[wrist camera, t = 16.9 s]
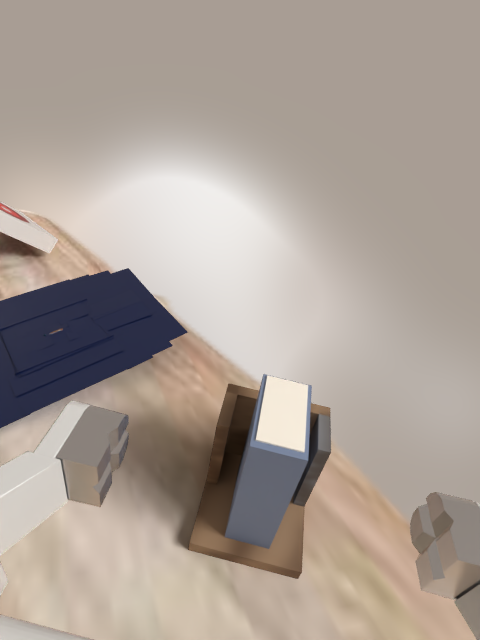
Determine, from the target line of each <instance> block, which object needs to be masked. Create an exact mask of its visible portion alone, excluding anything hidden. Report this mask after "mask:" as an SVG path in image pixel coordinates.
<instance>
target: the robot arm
mask: <svg viewBox="0 0 480 640" xmlns="http://www.w3.org/2000/svg"><path fill="white" fill-rule="evenodd" d="M128 423H129V422H128V415H126V414H122V413H118V412H115V411H111V410H107V409H103V408H100V407H96V406H92V405H89V404H85V403H81V402H77V401H73V400H72V401H71V402H69V403H68V404H67V405H66V406H65V408H64V409H63V410H62V412H61V413H60V415H59V416H58V418H57V419H56V421H55V422H54V423H53V425H52V426H51V428H50V429H49V431H48V432H47V433H46V435H45V436H44V438H43V439H42V441H41V442H40V443H39V445H38V446H37V448H36V449H35V451H34V452H30V451H27V452H25V453H23V454H22V455H20V456H18V457H16V458H14V459H13V460H11V461H9V462H7V463H5V464H4V465H2V466H0V556H1V555H2V554H3V553H4V552H6V551H7V550H8V549H9V548H11V547H12V546H13V545H14V544H16V543H17V542H18V541H19V540H21V539H22V538H23V537H24V536H26V535H27V534H28V533H29V532H31V531H32V530H33V529H34V528H36V527H37V526H38V525H39V524H41V523H42V522H43V521H45V520H46V519H47V518H48V517H50V516H51V515H52V514H53V513H55V512H56V511H57V510H58V509H60V508H61V507H62V506H63V505H65V504H66V503H67V502H68V500H72V501H76V502H80V503H85V504H89V505H94V506H98V507H101V505H102V503H103V500H104V498H105V496H106V494H107V492H108V490H109V488H110V486H111V484H112V475H111V473H112V472H113V471H115V470H116V469H118V468H119V467H120V464H121V462H122V460H123V458H124V455H125V452H126V448H127V444H128V434H129V433H128V432H127V431H126V430H125V429H126V427H127V425H128ZM426 501H427V504H426V505H423V506H420V507H418V508H417V509H416V510H415V512H414V513H413V515H412V519H411V523H410V533H411V539H412V543H413V545H414V546H415V548H416V549H417V550H418V552H419V553H420V554H419V556H418V558H417V560H416V566H417V572H418V577H419V582H420V587H421V590H422V591H425V592H428V593H432V594H435V595H439V596H442V597H446V598H449V599H453V600H456V601H455V604H456V606H457V607H458V609H459V611H460V612H461V614H462V616H463V617H464V619H465V621H466V622H467V624H468V626H469V627H470V629H471V631H472V632H473V634H474V635H475V637H476V639H477V640H480V503H477V502H473V501H472V500H467V499H463V498H459V497H454V496H450V495H445V494H442V493H437V492H434V493H430V494H429V496H428V497H427V498H426ZM7 583H8V578H7V574H6V572H5V570H4V568H3V566H2V564H1V562H0V595H1V594H2V592H3V590H4V588H5V586H6V585H7ZM0 640H94V639H90V638H86V637H82V636H79V635H75V634H71V633H68V632H64V631H60V630H56V629H53V628H49V627H45V626H42V625H38V624H34V623H30V622H27V621H23V620H19V619H16V618H12V617H8V616H5V615H1V614H0Z"/></svg>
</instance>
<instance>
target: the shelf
mask: <svg viewBox="0 0 480 640" xmlns="http://www.w3.org/2000/svg"><path fill="white" fill-rule="evenodd" d="M258 394H259V391H258V390H253V389H249V388H245V387H241V386H237V385H233V384H228V387H227V391H226V394H225V398H224V401H223V405H222V409H221V412H220V416H219V419H218V423H217V427H216V433H215V438H214V444H213V449H212V454H211V460H210V465H209V471H208V476H207V480H206V484H205V487H204V491H203V495H202V498H201V502H200V506H199V510H198V513H197V517H196V521H195V524H194V528H193V532H192V535H191V539H190V543H189V549H188V550H191V551H195V552H198V553H202V554H206V555H210V556H214V557H217V558H221V559H225V560H229V561H233V562H236V563H240V564H244V565H248V566H251V567H255V568H259V569H263V570H267V571H270V572H274V573H278V574H282V575H285V576H289V577H293V578H297V579H298V578H299V576H300V574H301V573H302V554H303V530H304V507H305V504H306V502H307V500H308V498H309V496H310V494H311V492H312V490H313V488H314V486H315V484H316V482H317V480H318V478H319V476H320V473H321V471H322V469H323V467H324V465H325V463H326V461H327V459H328V457H329V455H330V453H331V428H330V408H328V407H324V406H320V405H316V404H312V403H311V411H310V433H309V456H308V463H307V465H306V467H305V469H304V472H303V474H302V476H301V478H300V481H299V483H298V485H297V487H296V490H295V492H294V494H293V496H292V499H291V501H290V503H289V505H288V508H287V510H286V512H285V514H284V517H283V519H282V521H281V523H280V526H279V528H278V530H277V532H276V535H275V537H274V539H273V541H272V544H271V546H270V548H269V549H267V548H264V547H260V546H256V545H252V544H249V543H245V542H241V541H237V540H234V539H230V538H226V537H225V532H226V528H227V523H228V518H229V513H230V508H231V504H232V499H233V494H234V489H235V484H236V479H237V475H238V470H239V465H240V462H241V458H242V454H243V450H244V446H245V443H246V439H247V435H248V431H249V428H250V424H251V420H252V416H253V412H254V409H255V405H256V401H257V397H258Z"/></svg>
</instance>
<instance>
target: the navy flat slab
mask: <svg viewBox="0 0 480 640" xmlns="http://www.w3.org/2000/svg"><path fill="white" fill-rule="evenodd" d="M185 333H187V331H186V330H185V329H184V328H183V327H182V326H181V325H180V324H179V323H178V322H177V320H176V319H175V318H174V317H173V316H172V315H171V314H170V313H169V312H168V311H167V310H166V309H165V308H164V307H163V306H162V305H161V304H160V303H159V302H158V301H157V300H156V299H155V298H154V296H153V295H152V294H151V293H150V292H149V291H148V290H147V289H146V287H145V286H144V285H143V284H142V283H141V282H140V281H139V280H138V279H137V277H136V276H135V275H134V274H133V273H132V272H131V271H130V270H129V269H124V270H121V271H118V272H115V273H112V274H110V272H109V271H104V272H101V273H97V274H94V275H91V276H89V275H86V276H82V277H79V278H76V279H72V280H66V281H63V282H60V283H56V284H53V285H50V286H47V287H44V288H40V289H37V290H34V291H31V292H27V293H24V294H21V295H18V296H15V297H11V298H8V299H5V300H2V301H0V428H1V427H4V426H6V425H8V424H10V423H12V422H14V421H16V420H19V419H21V418H23V417H25V416H27V415H29V414H30V413H32V412H35V411H37V410H39V409H41V408H43V407H45V406H48V405H50V404H52V403H54V402H56V401H59V400H61V399H63V398H65V397H67V396H69V395H72V394H74V393H76V392H78V391H80V390H83V389H85V388H87V387H89V386H91V385H93V384H96V383H98V382H100V381H102V380H104V379H107V378H109V377H111V376H113V375H115V374H118V373H120V372H122V371H124V370H126V369H130V368H132V367H134V366H136V365H138V364H140V363H142V362H144V361H146V360H148V359H151V358H153V356H152V355H154V354H156V353H158V352H160V351H162V350H165V349H167V348H169V347H171V346H173V345H172V344H171V343H170V342H169V341H170V340H172V339H175V338H177V337H179V336H181V335H183V334H185Z"/></svg>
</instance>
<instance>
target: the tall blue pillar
mask: <svg viewBox="0 0 480 640" xmlns="http://www.w3.org/2000/svg"><path fill="white" fill-rule="evenodd" d="M311 388H312V387H311V385H307V384H302V383H298V382H294V381H290V380H286V379H281V378H278V377H274V376H269V375H265V374H264V375H263V378H262V382H261V386H260V390H259V394H258V397H257V401H256V405H255V409H254V412H253V416H252V420H251V424H250V428H249V431H248V435H247V439H246V443H245V446H244V450H243V454H242V458H241V462H240V465H239V470H238V475H237V479H236V484H235V489H234V494H233V499H232V504H231V508H230V513H229V518H228V523H227V528H226V532H225V537H226V538H230V539H234V540H237V541H241V542H245V543H249V544H252V545H256V546H260V547H264V548H267V549H269V548H270V546H271V544H272V541H273V539H274V537H275V535H276V532H277V530H278V528H279V526H280V523H281V521H282V519H283V517H284V514H285V512H286V510H287V508H288V505H289V503H290V501H291V499H292V496H293V494H294V492H295V490H296V487H297V485H298V483H299V481H300V478H301V476H302V474H303V472H304V469H305V467H306V465H307V463H308V456H309V433H310V411H311Z"/></svg>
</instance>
